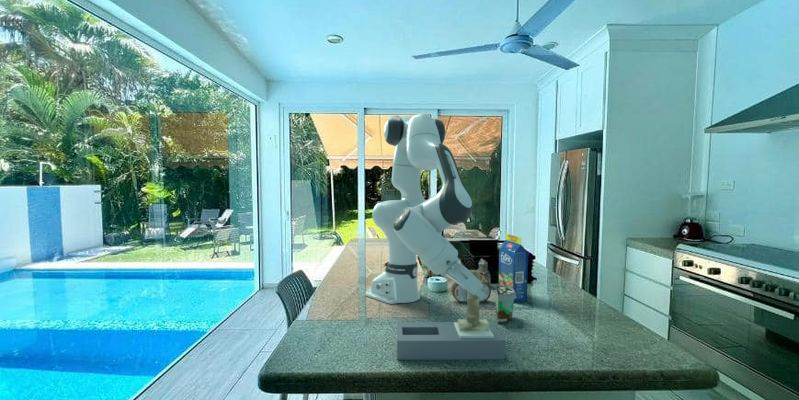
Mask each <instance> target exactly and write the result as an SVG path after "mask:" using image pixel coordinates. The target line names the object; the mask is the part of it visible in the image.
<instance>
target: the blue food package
mask: <svg viewBox="0 0 799 400" xmlns="http://www.w3.org/2000/svg"><path fill="white" fill-rule="evenodd" d="M505 235H506V236H505V240H504V241H503V243H502V244H501V245H500V247H499V251H498V285H504V286H508V287H511V288H513V289H514V291H515V294H516V298H515V299H514V303H523V302H527V301H528V270H529V268H528V266H529V259H528V257H529V256H528V251H527V250H526V249H525V247H524V246H523V244H522V237H520V236H517V235H513V234H510V233H508V232H506V233H505Z"/></svg>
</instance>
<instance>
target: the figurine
mask: <svg viewBox="0 0 799 400" xmlns="http://www.w3.org/2000/svg"><path fill="white" fill-rule="evenodd" d="M488 265H489V263H488V261H486V260H485V259H484V258H480V260H479V261H478V268H477V269H476V270H478V271H480V280H483V281H485V282H486V283H487V284H488V285H489V287H490V288H491V284H492V283H491V273H490V271H489V270H488V268H489V267H488Z"/></svg>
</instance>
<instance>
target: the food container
mask: <svg viewBox="0 0 799 400" xmlns="http://www.w3.org/2000/svg"><path fill="white" fill-rule="evenodd" d="M515 298H516V294H515V291H514V289H513V288H511V287H508V286H504V285H499V284H495V317H496V322H497V325H504V324H505V323H506V324H509V322H510V323H511V322H512V321H513V312H514V305H515V304H514V303H515V302H514V299H515ZM506 324H505V325H506Z"/></svg>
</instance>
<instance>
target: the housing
mask: <svg viewBox="0 0 799 400" xmlns="http://www.w3.org/2000/svg"><path fill="white" fill-rule="evenodd" d="M487 322H488V323H489V331H459V329H458V326H457V323H458V321H433V322H432V321H422V322H421V321H419V322H417V321H415V322H413V321H404V322H403V321H402V322H401V321H399V322H398V321H397V322H396V360H398V361H401V360H402V361H403V360H405V361H409V360H410V361H412V360H414V361H418V360H425V361H426V360H429V361H433V360H435V361H436V360H439V361H440V360H442V361H443V360H447V361H448V360H450V361H451V360H457V361H458V360H505V359H506V358H505V357H506V356H505V355H506V353H505V350H506V340H505V338H504V337H503V335H502V334H501V333H500V331H499V330H498V328H497V327H496V326H495V324H494V322H492V321H487Z"/></svg>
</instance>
